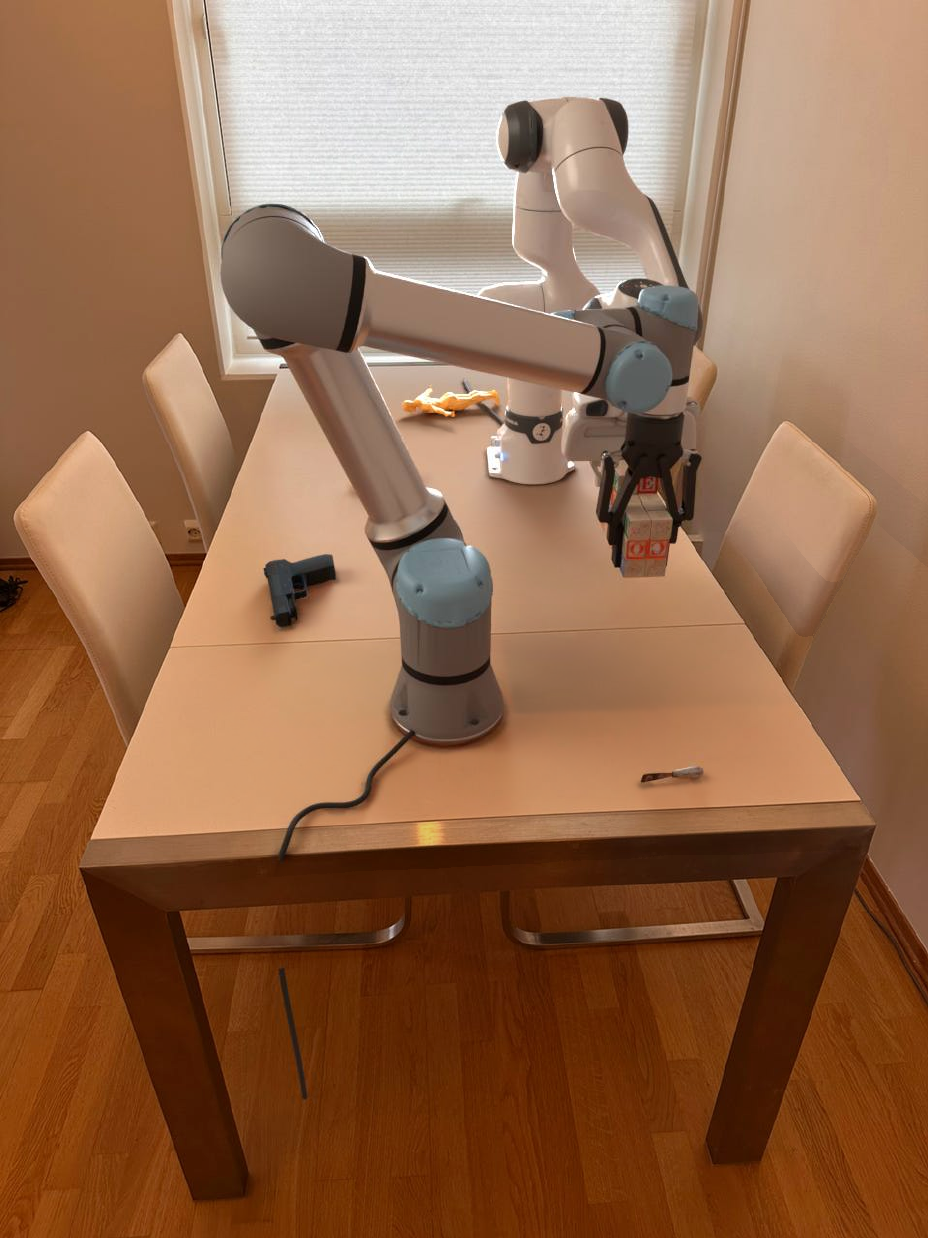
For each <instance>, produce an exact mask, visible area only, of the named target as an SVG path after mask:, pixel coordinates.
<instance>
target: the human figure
mask: <svg viewBox="0 0 928 1238" xmlns="http://www.w3.org/2000/svg"><path fill="white" fill-rule="evenodd" d="M424 391H425V392H423V393H422V394H420V395H418V396H416V398H415V399H414V400H404V401H403V402H402V411H404V412H405V413H410V414H412V413H414V412H417V408H418V409H420V410H421V411H423V412H424V413H427V414H439V415H443V416H444V417H449V416H450V417H451V418H452V417H453V418H454V417H455V416H456V414H455V411H462V410H464V409H467V408H469V407H471V406H473V405H476V404H479V403H478V402H482V403H483V402H484V401H488V400H493V402H494V403H495V404H496V405H497V406H500V398H499V393H498V392H497V391H496V390H495V389H493V390H491V391H478V390H473V391H472V392H471V393H469V392H468V394H460V393H457V394H455V393H453V392H446V393H444V394H443V395H442V396H441V397H440V398H434V397H429V396H430V395H432V394H433V392H434V391H433V389H432V385H429V387H428V389H424ZM450 410H452V411H450Z"/></svg>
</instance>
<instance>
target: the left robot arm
mask: <svg viewBox="0 0 928 1238" xmlns="http://www.w3.org/2000/svg"><path fill="white" fill-rule="evenodd" d="M220 249H221V250H220V259H221V263H220V273H219V274H220V282H221V283H220V284H221V287H222V292H223V295H224V297H225V299H226V302H227V304H228V305H229V307H230V308H231V310H232V312H233V313H234V314H235V315H236V316H237V318H238V319H239V320H240V321H242V322H243V324H245V325H246V326H248V327H249V328H251V329H252V330H253V332H254V334H255V335H256V337H257V339H258V341H259V343H260V345H261V346H262V349H263V350H264V351H265V352H268V353H270V354H273V355H277V356H280V357H282V358H283V359H284V362H285V363H286V366H287V367H288V369H289V371H290V373H291V375H292V376H293V378H294V380H295V382H296V384H297V386H298V388H299V389H300V391H301V393H302V395H303V397H304V399H305V401H306V403H307V404H308V406H309V408H310V410H311V412H312V414H313V416H314V417H315V419H316V422H317V423H318V426H319V428H321V430H322V432H323V434H324V436H325V438H326V440H327V442H328V444H329V445H330V447H331V449H332V450H333V453H334V455H335V457H336V458H337V460H338V462H339V464H340V466H341V468H342V469H343V472H344V473H345V476H346V477H347V479H348V480H349V482H350V484H351V486H352V488H353V490H354V492H355V493H356V495H357V497H358V499H359V501H360V503H361V505H362V507H363V508H364V510H365V513H366V514H367V516H368V518H367V520H366V522H365V526H364V534H365V536H366V538H367V540H368V541H369V544H370V545H371V547H372V549H373V551H374V553H375V555H376V556H377V558H378V560H379V562H380V563H381V565H382V567H383V569H384V571H385V574H386V576H387V579H388V581H389V582H388V583H389V585H390V589H391V593H392V596H393V599H394V603H395V607H396V611H397V615H398V620H399V633H400V634H399V635H400V655H401V667H400V669H399V672H398V675H397V678H396V681H395V684H394V687H393V690H392V693H391V696H390V718H391V721H392V724H393V725H394V727H395V728H396V729H397V731H398V732H399V733H400V734H402V735H403V737H402V738H401V739H400V740H399V741H398V742H397V743H396V744H395V746H393V747H392V748H391V749H390V750H389V751H388V752H387V753H386V754H385V755H384V756H383V757H381V759H379V761H377V762H376V764H375V765H374V766H373V767H372V768H371V770H370V771H369V773H368V775H367V777H366V781H365V787H364V791H363V793H362V794H361V795H360V796H359V797H357V798H355V799H353V800H350V801H338V802H337V801H336V802H334V801H331V802H330V801H329V802H328V801H327V802H326V801H325V802H318V803H314V804H311V805H309V806H306V807H305V808H304V809H302V810H301V811H299V812H298V813H297V814H296V815H294V817H293V818H292V819H291V821H290V822H289V825H288V827H287V829H286V832H285V835H284V838H283V841H282V844H281V847H280V849H279V852H278V854H277V855H278V856H277V861H281V862H282V860H284V859H285V857H286V853H287V851H288V848H289V845H290V842H291V839H292V836H293V833H294V831H295V828H296V827H297V824H298V823H300V822H301V820H302V819H303V818H305V817H306V816H307V815H309V814H310V813H313V812H314V811H318V810H323V809H337V810H338V809H350V808H354V807H357V806H359V805H361V804H362V803H364V802H365V801H366V800H367V799H368V797H369V796H370V793H371V791H372V785H373V780H374V777H375V776H376V774H377V773H378V772H379V771H380V769H381V768H382V767H383V766H384V765H385V764H386V763H387V762H388V761H389V760H390V759H392V758H393V757H394V756H395V755H396V754H397V752H399V751H400V750H401V749H402V747H404V745H406V743H407V742H409V741H410V740H411V741H413V742H415V743H417V744H420V745H421V744H422V745H425V746H430V747H437V748H454V747H455V748H457V747H463V746H467V745H471V744H473V743H476V742H480V741H481V740H483V739H485V738H486V737H488V736H489V735H491V734H492V733H493V732H494V731H495V730H496V729H498V727H499V726H500V724H501V722H502V720H503V717H504V697H503V693H502V690H501V687H500V685H499V682H498V679H497V677H496V674H495V672H494V668H493V666H492V664H491V654H492V653H491V651H492V649H491V648H492V647H491V645H492V596H493V594H494V583H493V577H492V570H491V566H490V562H489V560H488V558H487V557H486V556H485V555H484V554H483V553H482V552H481V551H480V550H479V549H478V548H477V547H475V546H473V545H467V544H466V542H465V539H464V535H463V532H462V530H461V528H460V525H459V524H458V522H457V520H455V519H454V516H453V514H452V512H451V509H450V508H449V506H448V504H447V502H446V500H445V498H444V496H443V494H442V493H441V492H440V491H439V490H437V489H434V488H430V487H427V486H426V483H425V482H424V480H423V477H422V475H421V473H420V471H419V469H418V467H417V465H416V463H415V461H414V459H413V457H412V455H411V453H410V451H409V448H408V446H407V444H406V443H405V440H404V438H403V436H402V433H401V431H400V430H399V428H398V426H397V423H396V421H395V419H394V418H393V416H392V413H391V412H390V409H389V408H388V405H387V403H386V401H385V399H384V397H383V395H382V393H381V391H380V388H379V387H378V384H377V383H376V379H375V378H374V376H373V374H372V371H371V370H370V368H369V366H368V363H367V361H366V360H365V357H364V355H363V353H362V351H361V349H360V348H361V347H366V348H369V349H374V350H378V351H384V352H388V353H393V354H398V355H403V356H407V357H410V358H411V357H412V358H416V359H420V360H425V361H428V362H429V361H430V362H434V363H437V364H443V365H448V366H453V367H457V368H461V369H466V370H469V371H470V370H471V371H475V372H479V373H485V374H489V375H494V376H498V377H501V378H502V377H503V378H506V379H507V378H511V379H516V380H520V381H525V382H530V383H534V384H539V385H543V386H548V387H552V388H557V389H562V391H566V392H570V393H573V392H575V393H580V394H583V395H587V396H591V397H596V398H600V399H605V400H608V401H609V402H610V403H611V404H612V405H613V406H615V407H616V408H618V409H621V410H622V411H624V412H627V423H626V434H625V441H624V443H623V445H622V446H621V448H620V450H617V451H614V452H610V453H609V452H608V451H603V452H602V453H601V458H602V461H601V464H602V463H603V471H602V477H601V483H600V487H599V490H598V495H597V502H596V508H595V514H596V517H597V519H598V522H599V523H600V524H601V523H604V522H605V523H607V524H608V526H607V537H606V536H605V538H606V541H607V543H608V545H609V546H610V545H612V548H611V558H610V560H611V563H612V565H613V568H615V569H620V561H621V551H622V542H623V532H624V526H623V524H622V522H621V518H622V516H623V514H624V512H625V510H626V507H627V505H628V503H629V501H630V499H631V496H632V494H633V492H634V490H635V488H636V486H637V485H638V484H639V482H640V480H641V478H647V477H655V478H659V483H660V487H661V490H662V495H663V499H664V505H665V507H666V508H667V511H668V512H669V514H670V515H671V517H672V519H673V522H672V531H671V538H670V539H669V548H668V556H667V562H666V567H668V561H669V554H670V553H669V552H670V546H671V545H674V544H676V542H677V541H678V534H679V529H680V527H681V526H682V524H683V522H685V521H688V522H689V521H692V520H694V515H695V501H696V486H697V473H698V469H699V466H700V464H701V462H702V459H703V457H702V456H701V454H700V453H699V452H698V450H697V449H691V450H687V449H683V447H682V445H681V439H682V432H683V424H684V414H683V411H684V410H685V409H686V402H687V397H688V392H689V385H690V376H691V369H692V361H693V353H694V348H695V346H694V341H695V334H696V331H697V328H698V327H697V320H698V304H699V297H698V295H697V293H696V292H695V291H694V290H692V289H690V288H689V289H687V288H684V287H678V286H665V285H662V286H653V287H647V288H644V289H643V290H642V291H641V292H640V294H639V298H638V301H637V306H632V307H627V308H608V309H585V310H576V309H572V310H568V311H560V312H554V313H552V314H547V313H543V312H539V311H535V310H531V309H527V308H523V307H519V306H515V305H511V304H507V303H503V302H499V301H495V300H491V299H487V298H483V297H479V296H477V295H475V294H470V293H467V292H462V291H458V290H455V289H450V288H447V287H442V286H438V285H435V284H431V283H427V282H424V281H423V282H422V281H420V280H419V281H418V280H416V279H415V280H414V279H411V278H408V277H407V278H406V277H403V276H400V275H396V274H395V275H394V274H391V273H387V272H383V271H379V270H376V269H375V268H374V266H373V264H372V263H371V261H370V260H369V258H368V257H367V256H363V255H359V254H356V253H352V252H348V251H346V250H343V249H340V248H337V247H335V246H333V245H331V244H329V243H328V242H325V240H324V237H323V235H322V233H321V232H320V229H319V228H318V226H317V225H315V224H314V222H313V221H312V219H311V218H310V217H308V216H307V215H306V214H305V213H303V212H302V211H300V210H298V209H297V208H295V207H292V206H289V205H286V204H282V203H262V204H257V205H255V206H252V207H250V208H248V209H247V210H245V211H243V212H242V213H241V214H240V215H238V216H236V218H235V219H234V220H233V221H232V222H231V223H230V225H229V226H228V227H227V229H226V231H225V233H224V236H223V238H222V242H221V248H220ZM680 458H682V459H680ZM621 459H624V461H625V462H626V463H627V465H628V468H627V470H626V472H625V478H624V480H623V482H622V484H621V486H620V489H619V491H618V493H617V495H616V498H615V500H614V502H613V504H612V507H611V509H610V511H609V505H610V500H611V494H612V488H613V483H614V477H615V469H614V468H617V467H618V465H619V461H620V460H621ZM679 460H681V463H682V464H683V467H682V481H681V482H682V483H681V502H680V509H679V506H678V502H677V498H676V493H675V489H674V484H673V477H672V471H671V469H672V468H674V466H675V465H676V464H677V462H678V461H679ZM608 511H609V512H608ZM285 969H286V968H285V967H281V968H278V969H277V970H278V971H277V972H278V978H279V982H280V988H281V994H282V998H283V999H282V1000H283V1004H284V1010H285V1014H286V1019H287V1023H288V1029H289V1034H290V1038H291V1043H292V1048H293V1053H294V1059H295V1063H296V1069H297V1074H298V1080H299V1086H300V1092H301V1098H302V1099H301V1100H303V1101H306V1100H307V1099H308V1090H307V1084H306V1077H305V1073H304V1066H303V1060H302V1055H301V1051H300V1046H299V1040H298V1035H297V1034H298V1033H297V1030H296V1029H297V1028H296V1024H295V1020H294V1014H293V1010H292V1004H291V1000H290V993H289V988H288V983H287V976H286V970H285Z"/></svg>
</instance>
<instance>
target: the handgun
mask: <svg viewBox="0 0 928 1238" xmlns="http://www.w3.org/2000/svg"><path fill="white" fill-rule="evenodd" d="M333 556H334V555H332V554H330V553H325V554H319V555H315V556H312V557H307V558H304V559H300V560H298V561H295V562H291V561H289V560H287V559H285V558H282V559H281V558H280V559H274V560H270V561H268V562H267V563H266V564H265V565H264V567H263V575H264V576H265V578H266V579H267V584H268V589H269V594H270V600H271V604H272V610H273V615H270V618H269V619H270V620H272V621H275V625H276V626H277V627H279V628H287V627H292V624H293V619H295V621H298V619H299V616H298V608H297V604H296V603H297V602H296V601H297V600H302V599H305V598H308V588H309V587H312V586H317V585H320V584H323V583H326V582H329V581H330V582H331V581H336V579H337V578H336V577H337V576H336V575H337V574H336V566H335V562H334V557H333ZM296 590H299V591H296Z"/></svg>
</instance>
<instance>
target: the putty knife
mask: <svg viewBox="0 0 928 1238" xmlns="http://www.w3.org/2000/svg"><path fill="white" fill-rule="evenodd" d="M704 772H705V771H704V768H702V767H701V766H697V765H695V766H688V767H683V768H679V769H675V770H673V771H671V772H653V773H652V772H651V773H650V772H649V773H644V774H642V776H641V779H640V783H642V784H645V783H648V782H653V781H659V780H665V779H668V778H673V779H674V778H675V779H693V778H694V779H695V778H700V777H702V776H703V775H704Z"/></svg>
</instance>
